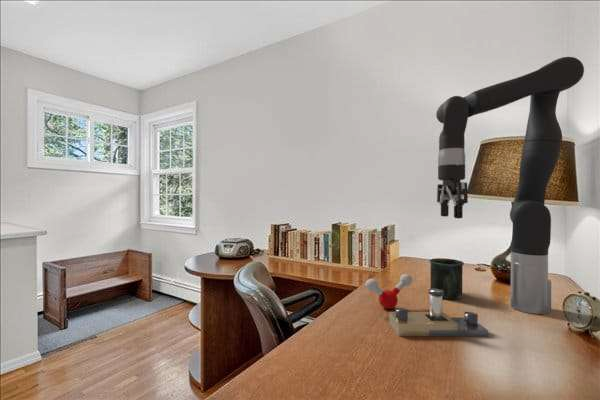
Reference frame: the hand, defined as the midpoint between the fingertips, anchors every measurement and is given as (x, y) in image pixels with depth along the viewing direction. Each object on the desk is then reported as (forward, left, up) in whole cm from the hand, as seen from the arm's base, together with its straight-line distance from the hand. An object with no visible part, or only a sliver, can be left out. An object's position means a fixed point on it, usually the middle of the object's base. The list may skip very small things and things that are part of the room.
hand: (451, 217), depth 95 cm
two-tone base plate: (+11, +15, -28) cm, 34 cm away
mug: (-6, -14, -28) cm, 32 cm away
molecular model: (+19, 0, -28) cm, 34 cm away
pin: (+11, +15, -28) cm, 34 cm away
